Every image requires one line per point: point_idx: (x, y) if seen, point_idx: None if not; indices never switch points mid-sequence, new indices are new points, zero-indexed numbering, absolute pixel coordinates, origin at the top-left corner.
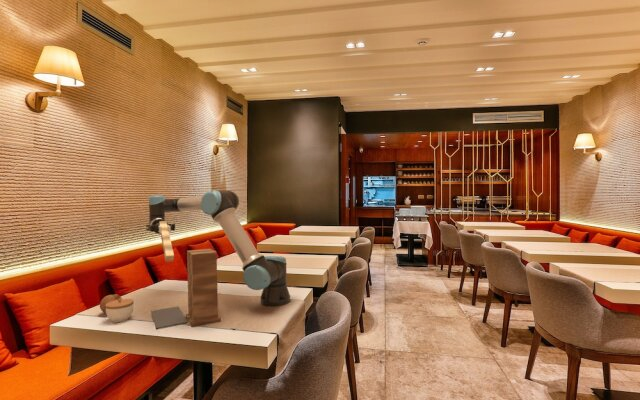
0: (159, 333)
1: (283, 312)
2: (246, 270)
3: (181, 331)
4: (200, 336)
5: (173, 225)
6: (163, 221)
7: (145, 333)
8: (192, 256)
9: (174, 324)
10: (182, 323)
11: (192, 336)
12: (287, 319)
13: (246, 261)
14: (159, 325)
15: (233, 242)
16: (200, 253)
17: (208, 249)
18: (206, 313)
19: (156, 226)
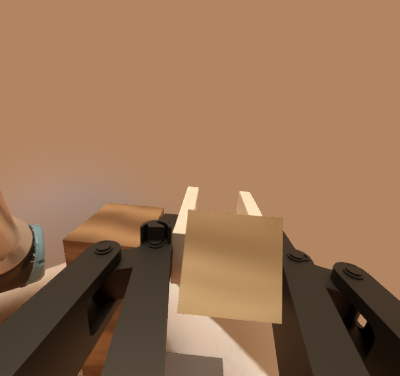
0: (218, 334)
1: (20, 289)
2: (43, 243)
3: (185, 319)
4: (170, 286)
5: (112, 243)
6: (226, 214)
7: (241, 352)
8: (163, 212)
9: (188, 355)
10: (172, 354)
11: (178, 292)
12: (54, 266)
13: (22, 234)
14: (215, 370)
15: (1, 205)
16: (143, 207)
17: (83, 230)
18: None
19: (292, 250)
